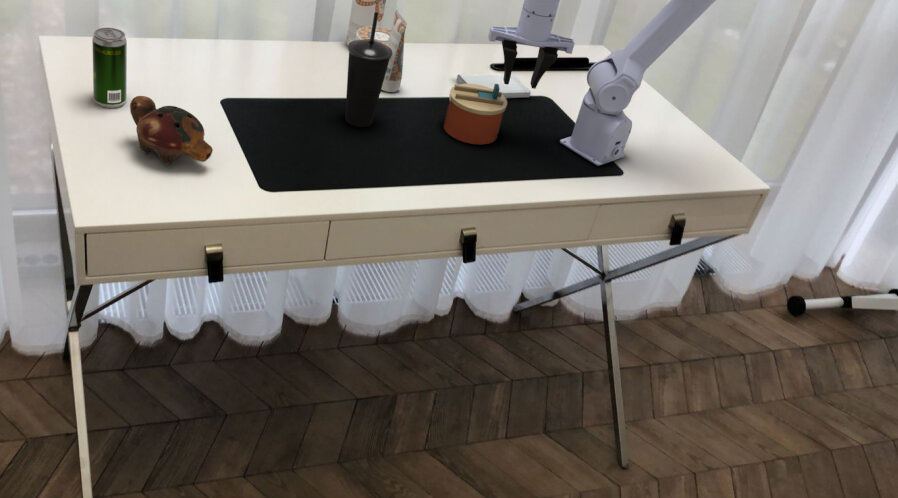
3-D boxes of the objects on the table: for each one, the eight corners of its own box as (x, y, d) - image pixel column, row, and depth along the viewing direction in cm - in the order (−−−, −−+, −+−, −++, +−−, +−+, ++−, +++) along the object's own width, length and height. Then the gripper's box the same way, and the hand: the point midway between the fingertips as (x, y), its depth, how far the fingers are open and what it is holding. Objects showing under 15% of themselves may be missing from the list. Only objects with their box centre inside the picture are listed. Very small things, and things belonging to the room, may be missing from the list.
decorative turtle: (143, 126, 160) (148, 82, 155) (223, 162, 157) (231, 118, 152) (108, 147, 152) (112, 101, 147) (191, 185, 149) (198, 139, 145)
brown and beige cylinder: (495, 121, 182) (505, 85, 177) (501, 149, 174) (511, 111, 169) (441, 113, 181) (449, 76, 176) (443, 140, 173) (452, 102, 168)
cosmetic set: (416, 97, 185) (435, 1, 173) (369, 96, 182) (386, -2, 170) (378, 40, 203) (394, -50, 191) (336, 38, 200) (349, -53, 188)
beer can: (132, 105, 164) (132, 38, 157) (102, 111, 161) (101, 43, 154) (117, 91, 167) (117, 25, 160) (87, 96, 164) (86, 29, 157)
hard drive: (475, 93, 187) (531, 90, 191) (457, 73, 192) (512, 71, 197) (473, 100, 188) (529, 98, 192) (455, 81, 193) (510, 79, 198)
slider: (495, 96, 174) (498, 83, 173) (496, 101, 173) (499, 89, 171) (477, 93, 174) (480, 81, 173) (478, 98, 172) (481, 86, 171)
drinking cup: (374, 135, 170) (394, 26, 158) (332, 124, 171) (348, 15, 158) (383, 116, 176) (403, 10, 164) (343, 106, 177) (359, 0, 165)
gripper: (577, 7, 167) (556, 80, 176) (495, -6, 166) (477, 68, 174) (584, 23, 162) (561, 97, 170) (499, 9, 160) (480, 85, 169)
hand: (519, 84), depth 172 cm, fingers open, 4 cm apart
